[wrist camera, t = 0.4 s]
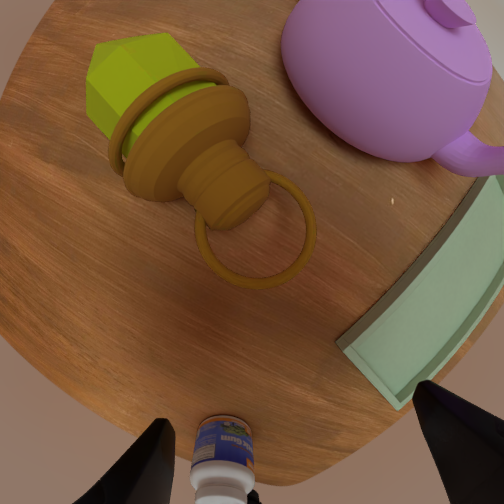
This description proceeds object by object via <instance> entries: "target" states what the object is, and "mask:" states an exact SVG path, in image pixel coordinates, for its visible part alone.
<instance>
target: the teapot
mask: <svg viewBox="0 0 504 504" xmlns="http://www.w3.org/2000/svg"><path fill="white" fill-rule="evenodd" d="M475 23H476V17H475V15H474V13H473V12H472V10H471V8H470V7H469V5H468V4H467V3H466V2H465V0H300V1H299V2H298V3H297V5H296V6H295V8H294V9H293V11H292V12H291V14H290V15H289V17H288V19H287V21H286V24H285V27H284V29H283V32H282V38H281V54H282V58H283V63H284V66H285V69H286V71H287V74H288V77H289V79H290V81H291V83H292V85H293V87H294V89H295V90H296V92H297V93H298V95H299V96H300V98H301V99H302V101H303V102H304V103H305V105H306V106H307V107H308V108H309V109H310V111H311V112H312V113H313V114H314V115H315V116H316V117H317V118H318V119H319V120H320V121H321V122H322V123H323V124H324V125H325V126H326V127H327V128H328V129H330V130H331V131H332V132H333V133H334V134H336V135H337V136H338V137H340V138H341V139H343V140H344V141H346V142H347V143H349V144H350V145H352V146H354V147H356V148H358V149H359V150H361V151H364V152H366V153H368V154H371V155H373V156H376V157H379V158H383V159H386V160H390V161H396V162H417V161H422V160H425V159H428V158H432V159H434V160H435V161H436V162H437V163H439V164H440V165H441V166H442V167H444V168H445V169H447V170H449V171H451V172H452V173H455V174H458V175H461V176H467V177H484V176H492V175H504V146H502V147H493V146H489V145H486V144H484V143H482V142H481V141H479V140H478V139H477V138H476V137H475V136H474V135H473V134H472V133H471V132H470V131H469V129H470V128H471V126H472V125H473V123H474V121H475V120H476V118H477V116H478V114H479V112H480V110H481V108H482V105H483V103H484V100H485V98H486V95H487V92H488V89H489V86H490V81H491V77H492V61H491V56H490V52H489V49H488V46H487V44H486V42H485V40H484V38H483V36H482V34H481V32H480V31H479V29H478V27H477V26H476V24H475Z"/></svg>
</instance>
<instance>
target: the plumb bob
mask: <svg viewBox="0 0 504 504" xmlns="http://www.w3.org/2000/svg"><path fill="white" fill-rule="evenodd" d="M86 112H87V116H88V117H89V118H90V119H91V120H92V121H93V122H94V123H95V124H96V126H97V127H98V128H99V129H100V130H101V131H102V132H103V133H104V134H105V135H106V137H107V138H108V139H109V140H110V142H109V148H108V158H109V161H110V165H111V167H112V169H113V170H114V171H115V172H116V173H117V174H118V175H120V176H122V177H123V179H124V183H125V186H126V188H127V190H128V191H129V192H130V193H131V194H132V195H134V196H136V197H140V198H143V199H145V200H147V201H155V202H169V201H173V200H176V199H178V198H181V197H183V196H184V198H185V199H186V201H187V202H188V203H189V204H190V205H191V206H194V210H195V211H196V217H195V227H194V229H195V238H196V242H197V246H198V248H199V251H200V253H201V255H202V257H203V259H204V261H205V262H206V263H207V265H208V266H209V267H210V268H211V269H212V270H213V271H214V272H215V273H216V274H217V275H218V276H219V277H221V278H222V279H224V280H225V281H227V282H229V283H231V284H233V285H236V286H238V287H242V288H246V289H258V290H262V289H269V288H273V287H277V286H279V285H282V284H284V283H286V282H288V281H289V280H291V279H292V278H294V277H295V276H296V275H297V274H298V273H299V272H300V271H301V270H302V269H303V268H304V267H305V265H306V264H307V262H308V261H309V259H310V257H311V255H312V252H313V250H314V247H315V242H316V235H317V227H316V219H315V215H314V212H313V209H312V207H311V204H310V202H309V201H308V199H307V197H306V196H305V194H304V193H303V192H302V191H301V189H300V188H299V187H298V186H297V185H295V184H294V183H293V182H292V181H291V180H289V179H287V178H286V177H284V176H282V175H280V174H278V173H275V172H272V171H269V170H264V169H261V168H260V166H259V165H258V164H257V163H256V162H255V161H254V160H252V159H250V158H249V154H248V153H247V152H246V151H245V150H244V149H243V148H241V146H242V145H243V143H244V142H245V140H246V138H247V136H248V133H249V130H250V109H249V107H248V101H247V98H246V96H245V95H244V93H243V92H242V91H241V90H239V89H237V88H235V87H233V86H230V85H229V83H228V81H227V79H226V78H225V76H224V75H223V74H222V73H220V72H218V71H216V70H214V69H210V68H204V67H200V66H199V65H198V64H197V63H196V62H195V61H194V60H193V59H192V58H191V57H190V55H189V54H188V53H187V52H186V51H185V50H184V49H183V48H182V47H181V46H180V45H179V44H178V43H177V42H176V41H175V40H174V39H173V38H172V37H171V36H170V35H169V34H168V33H159V34H150V35H142V36H136V37H129V38H124V39H118V40H113V41H108V42H104V43H99V44H96V47H95V50H94V53H93V56H92V60H91V63H90V66H89V70H88V73H87V77H86ZM122 154H123V155H124V156H125V157H126V158H127V160H126V163H124V162H123V160H122ZM271 182H273V183H275V184H277V185H279V186H281V187H282V188H284V189H285V190H286V191H288V192H289V193H290V194H291V195H292V196H293V197H294V198H295V200H296V201H297V202H298V204H299V206H300V208H301V210H302V212H303V215H304V218H305V223H306V239H305V243H304V246H303V249H302V251H301V253H300V255H299V257H298V258H297V259H296V261H295V262H294V263H293V264H292V265H291V266H290V267H288V268H287V269H286V270H284V271H283V272H281V273H279V274H276V275H274V276H270V277H265V278H251V277H246V276H242V275H239V274H237V273H235V272H233V271H231V270H230V269H228V268H227V267H226V266H224V265H223V264H222V263H221V262H220V261H219V260H218V259H217V257H216V256H215V255H214V253H213V251H212V249H211V247H210V245H209V242H208V239H207V234H206V225H207V226H208V227H209V228H210V230H212V231H213V230H217V229H218V230H230V229H232V228H234V227H236V226H238V225H240V224H241V223H243V222H244V221H245V220H247V219H248V218H249V217H250V216H251V215H253V214H254V213H255V212H256V211H257V210H258V209H259V208H260V207H261V206H262V205H263V203H264V202H265V201H266V199H267V198H268V196H269V191H270V186H269V185H270V183H271Z"/></svg>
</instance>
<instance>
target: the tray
mask: <svg viewBox="0 0 504 504" xmlns="http://www.w3.org/2000/svg"><path fill="white" fill-rule="evenodd" d="M503 285H504V175H492V176H484V177H478V178H477V180H476V181H475V183H474V185H473V186H472V188H471V189H470V191H469V192H468V193H467V195H466V196H465V198H464V199H463V201H462V202H461V204H460V205H459V206H458V208H457V209H456V210H455V212H454V213H453V215H452V216H451V217H450V219H449V220H448V221H447V223H446V224H445V225H444V226H443V228H442V229H441V230H440V232H439V233H438V234H437V235H436V237H435V238H434V239H433V240H432V242H431V243H430V244H429V245H428V247H427V248H426V249H425V250H424V251H423V253H422V254H421V255H420V256H419V257H418V258H417V260H416V261H415V262H414V263H413V264H412V265H411V266H410V268H409V269H408V270H407V271H406V272H405V273H404V274H403V275H402V276H401V278H400V279H399V280H398V281H397V282H396V283H395V284H394V285H393V286H392V287H391V288H390V289H389V290H388V291H387V293H386V294H385V295H384V296H383V297H382V298H381V299H380V300H379V301H378V302H377V303H376V304H375V305H374V306H373V307H372V308H371V309H370V310H369V311H368V312H367V313H366V314H365V315H364V316H363V317H361V318H360V319H359V320H358V321H357V322H356V323H355V324H354V325H353V326H352V327H351V328H350V329H349V330H348V331H347V332H345V333H344V334H343V335H342V336H341V337H340V338H339V339H338V340H337V341H335V343H336V344H337V345H338V347H339V348H340V349H341V350H342V352H343V353H344V354H345V355H346V356H347V357H348V358H349V359H350V360H351V361H352V362H353V364H354V365H355V366H356V367H357V368H358V369H359V370H360V371H361V372H362V373H363V374H364V376H365V377H366V378H367V379H368V380H369V381H370V382H371V383H372V384H373V385H374V386H375V387H376V389H377V390H378V391H379V392H380V393H381V394H382V395H383V396H384V397H385V398H386V399H387V401H388V402H389V403H390V404H391V405H392V406H393V407H394V408H395V409H396V410H397V411H398V410H400V409H401V408H402V407H403V406H404V405H405V404H406V403H407V402H408V401H410V400H411V399H412V397H413V394H414V391H415V388H416V386H417V384H418V383H419V382H420V381H423V380H426V379H428V380H431V379H432V378H433V377H434V376H435V375H436V374H437V373H438V372H439V371H440V369H441V368H442V367H443V366H444V365H445V364H446V363H447V362H448V361H449V359H450V358H451V357H452V356H453V355H454V354H455V352H456V351H457V350H458V349H459V348H460V346H461V345H462V344H463V343H464V341H465V340H466V339H467V338H468V336H469V335H470V334H471V332H472V331H473V330H474V328H475V327H476V326H477V324H478V323H479V322H480V320H481V319H482V317H483V316H484V314H485V313H486V312H487V310H488V309H489V307H490V306H491V304H492V303H493V301H494V299H495V298H496V296H497V295H498V293H499V291H500V290H501V288H502V286H503Z"/></svg>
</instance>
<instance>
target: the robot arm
mask: <svg viewBox="0 0 504 504" xmlns="http://www.w3.org/2000/svg"><path fill="white" fill-rule="evenodd" d="M412 401H413V404H414V407H415V410H416V413H417V416H418V420H419V423H420V426H421V429H422V432H423V435H424V437H425V440H426V442H427V444H428V447H429V449H430V451H431V454H432V456H433V459H434V461H435V464H436V466H437V468H438V471H439V474H440V476H441V479H442V482H443V484H444V487H445V490H446V493H447V496H448V498H449V501H450V504H504V420H502V419H500V418H498V417H496V416H494V415H493V414H491V413H489V412H487V411H485V410H483V409H481V408H479V407H478V406H476V405H474V404H472V403H470V402H468V401H466V400H465V399H463V398H461V397H459V396H457V395H455V394H454V393H452V392H450V391H448V390H447V389H445V388H443V387H441V386H439V385H438V384H436V383H434V382H432V381H430V380H428V379H426V380H423V381H420V382H419V383H418V384H417V386H416V388H415V391H414V394H413V397H412ZM174 464H175V431H174V429H173V427H172V425H171V423H170V421H169V420H168V419H167V418H156V419H155V420H154V421H153V422H152V423H151V425H150V426H149V427H148V428H147V429H146V430H145V431H144V432H143V433H142V435H141V436H140V437H139V438H138V439H137V440H136V441H135V442H134V443H133V444H132V445H131V447H130V448H129V449H128V450H127V451H126V452H125V453H124V454H123V455H122V456H121V457H120V459H119V460H118V461H117V462H116V463H115V464H114V465H113V466H112V467H111V468H110V469H109V470H108V471H107V472H106V473H105V474H104V475H103V476H102V477H101V478H100V480H98V481H97V482H96V483H95V485H93V486H92V487H91V488H90V489H89V490H88V491H87V492H86V493H85V494H84V495H83V496H81V497H80V498H79V499H78V500H76V501H75V502H74V503H72V504H169V503H170V495H171V489H172V482H173V476H174ZM247 504H262V503H261V502H259V501H257V500H254V499H252V498H249V497H247Z"/></svg>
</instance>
